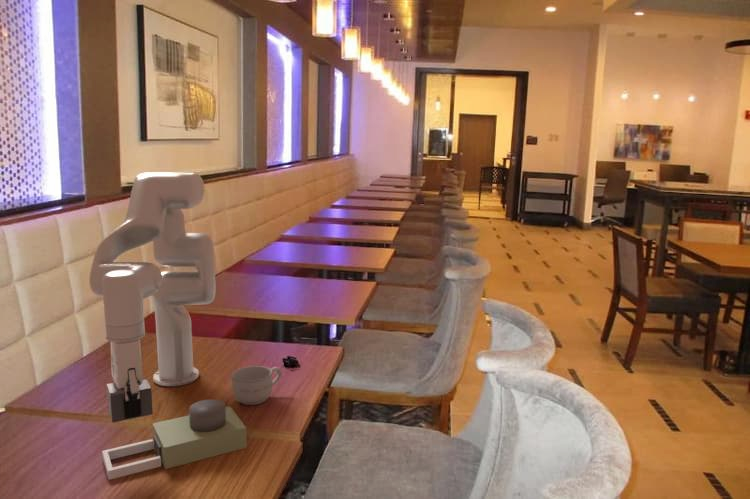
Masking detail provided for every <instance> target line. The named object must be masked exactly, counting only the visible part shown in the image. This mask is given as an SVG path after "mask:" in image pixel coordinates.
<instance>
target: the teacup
mask: <svg viewBox="0 0 750 499" xmlns="http://www.w3.org/2000/svg"><path fill="white" fill-rule="evenodd" d="M275 372H276V376H275V377H274V379H273V374H274V373H275ZM282 372H283V371H282V369H281V368H279V367H277V366H273V367H271V368H270V367H269V366H268V367H267V366H264V365H250V366H245V367H244V366H243V367H239V368H238V369H236V370H234V371H232V372H231V383H232V384H231V385H232V386H231V387H232V393H233V396H234V398H235V400H237V401H238V402H240V403H241V404H243V405H247V406H248V405H249V406H255V405H256V406H257V405H260V404H262V403H264V402H266V400H267V399H268V398H270V396H271V395H272V393H273V387H274V386H275V385H276V384H277V383H278V382H279V381H280V379H281V378H282Z"/></svg>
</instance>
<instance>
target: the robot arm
mask: <svg viewBox="0 0 750 499" xmlns="http://www.w3.org/2000/svg"><path fill="white" fill-rule="evenodd" d="M133 180H134V181H133V185H132V188H131V192H130V193H131V194H130V198H129V201H128V206H127V211H126V215H125V219H124V222H123V223H122V224H120V225H119V226H118V227H116V228H115V229H113V230H112V231H111V232H110V233H109V234H107V236H105V237H104V239H102V241H101V242H100V243H98V244H99V245H98V246H97V247H96V248H95V249H96V250H95V252H94V256H93V259H92V264H91V268H90V273H89V286H90V287H89V288H90V289H91V292H93V294H95V295H96V296H97V297H101V298H102V301H103V318H104V329H105V339H106V341H107V342H110V362H111V364H110V366H111V367H110V368H111V369H110V370H111V376H112V380H113V383H115V385H116V387H117V388H118V389H121V388H124V394H125V400H124V414H125V418H126V419H128V418H132V417H137V416H140V415H141V401H140V395H139V385H141V384H142V380H143V363H142V362H143V361H142V348H141V339H143V338H144V337H145V336H146V329H145V314H144V311H145V310H144V299H146V298H149V297H151V300H152V303H153V304H152V305H153V310H154V317H155V332H156V335H155V336H156V347H157V348H156V351H157V366H158V367H157V368H158V370H157V371H156V372H155V373H154V374H153V376H152V381H153V383H155V384H156V385H158V386H162V387H180V386H184V385H188V384H191V383H193V382H195V381H196V380H197V379H198V378H199V376H200V371H199V369H197V368H196V367H194V354H193V338H192V337H193V333H192V319H191V316H190V313H189V312H188V310H187V309H186V308H185V307H184V306H189V305H190V306H191V305H194V306H196V305H197V306H199V305H209V304H211V303H212V302H213V301H214V300H215V297H216V290H217V289H216V288H217V287H216V285H217V284H216V267H215V266H216V265H215V264H216V263H215V261H216V260H215V251H214V250H215V247H214V243H213V240H212V238H211V237H210V235H209V234H207V233H204V232H187V231H186V228H185V214H184V212H183V211H182V210H187V209H193V208H195V207H197V206H198V205H200V203H201V202H202V201H203V198H204V195H205V182H204V180H203V178H202V177H201V175H200V174H199V173H196V172H170V171H169V172H167V171H163V172H162V171H160V172H159V171H151V172H141V173H140V174H138V175H136V176H135V178H134V179H133ZM151 242H152V250H153V257H154V260H155V263H156V264H155V263H152V262H148V261H147V262H145V261H143V262H141V261H138V262H137V261H135V262H134V261H133V262H132V261H120V262H119V261H115V260H116V259H117V258H118V257H119V256H121V255H122V254H125V253H126V252H128V251H131V250H133V249H136V248H140V247H141V246H144V245H146V244H149V243H151ZM157 265H158V266H157ZM159 266H160V267H164V268H195V269H196V270H163V271H162V270H161V269H160V267H159ZM126 383H129V384H130V385H126ZM138 384H139V385H138ZM129 388H130V391H129V392H128V391H127V389H129ZM137 418H138V417H137ZM128 420H129V419H128Z"/></svg>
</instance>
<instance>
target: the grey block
mask: <svg viewBox="0 0 750 499" xmlns="http://www.w3.org/2000/svg"><path fill="white" fill-rule="evenodd" d="M126 385H130V384H129V383H126ZM138 385H139V384H138ZM106 391H107V405H108V406H107V407H108V414H109V417H110V420H111V422H112V424H113V423H118V422H122V421H128V420H132V419H135V418H136V419H137V418H141V417H142V418H143V417H145V416H150V415H153V414H154V412H153V399H152V398H153V396H152V387H151V385H150V383H149V381H148V379H142V384H141V385H139V395H140V401H141V415H140V416H137V417H132V418H128V419H126V418H125V414H124V400H125V394H124V388H121V389H118V388H117V387H116V385H115V382H111V383H107V384H106ZM127 391H128V392H129V391H130V388H129V389H127Z"/></svg>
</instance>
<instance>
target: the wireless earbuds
mask: <svg viewBox="0 0 750 499" xmlns="http://www.w3.org/2000/svg"><path fill="white" fill-rule="evenodd" d="M297 358H298V357H294V356H291V355H287V356H286V358H285V357H282V359H281V360H282V363H283V367H284V368H288V367H295V368H297V367H298V366H299V361H298V360H297Z"/></svg>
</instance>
